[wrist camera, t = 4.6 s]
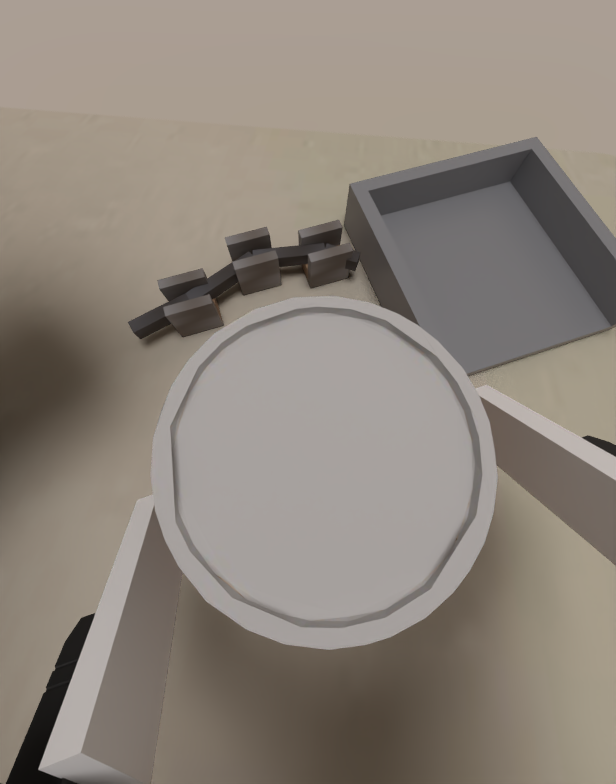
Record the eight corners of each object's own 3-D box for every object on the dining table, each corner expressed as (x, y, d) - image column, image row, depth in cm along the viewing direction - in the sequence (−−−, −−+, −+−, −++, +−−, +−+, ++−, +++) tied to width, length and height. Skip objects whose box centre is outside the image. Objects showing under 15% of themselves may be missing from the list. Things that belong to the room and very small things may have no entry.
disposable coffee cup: (270, 377, 21) (225, 245, 9) (405, 422, 20) (539, 337, 8) (213, 518, 18) (50, 577, 7) (365, 577, 17) (483, 763, 6)
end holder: (420, 391, 20) (443, 373, 17) (343, 224, 25) (349, 183, 21) (610, 329, 22) (664, 301, 18) (507, 181, 26) (536, 136, 23)
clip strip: (146, 347, 21) (123, 328, 19) (135, 292, 23) (113, 266, 20) (362, 285, 23) (369, 259, 20) (340, 237, 24) (344, 206, 22)
